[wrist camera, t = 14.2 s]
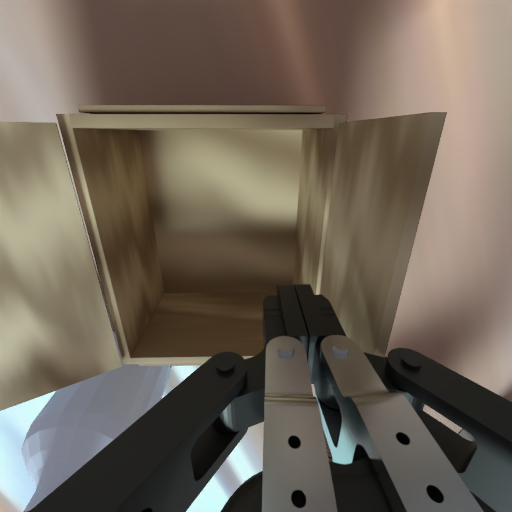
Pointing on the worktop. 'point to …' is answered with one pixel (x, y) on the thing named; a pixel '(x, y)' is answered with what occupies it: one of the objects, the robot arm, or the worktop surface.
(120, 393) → the soap bottle
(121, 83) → the worktop surface
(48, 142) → the flap
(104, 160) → the wooden box
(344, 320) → the flap
